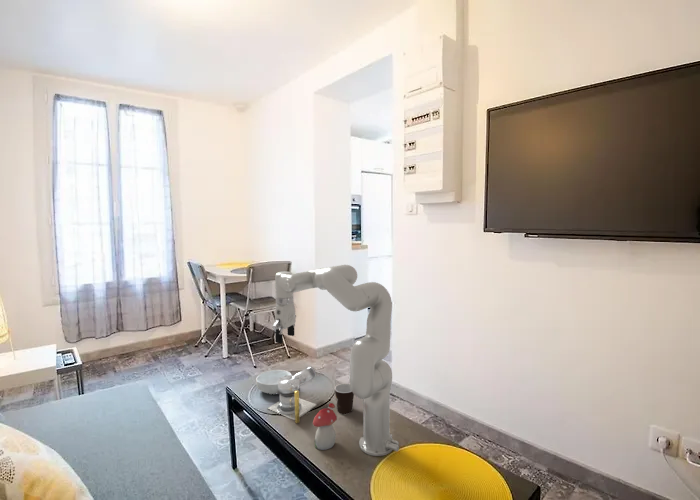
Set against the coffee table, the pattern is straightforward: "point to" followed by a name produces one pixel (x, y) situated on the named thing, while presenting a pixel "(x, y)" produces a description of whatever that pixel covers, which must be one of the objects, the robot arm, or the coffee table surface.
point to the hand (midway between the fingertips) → (285, 339)
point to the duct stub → (292, 406)
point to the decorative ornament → (325, 428)
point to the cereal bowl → (270, 380)
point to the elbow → (294, 381)
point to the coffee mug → (344, 398)
